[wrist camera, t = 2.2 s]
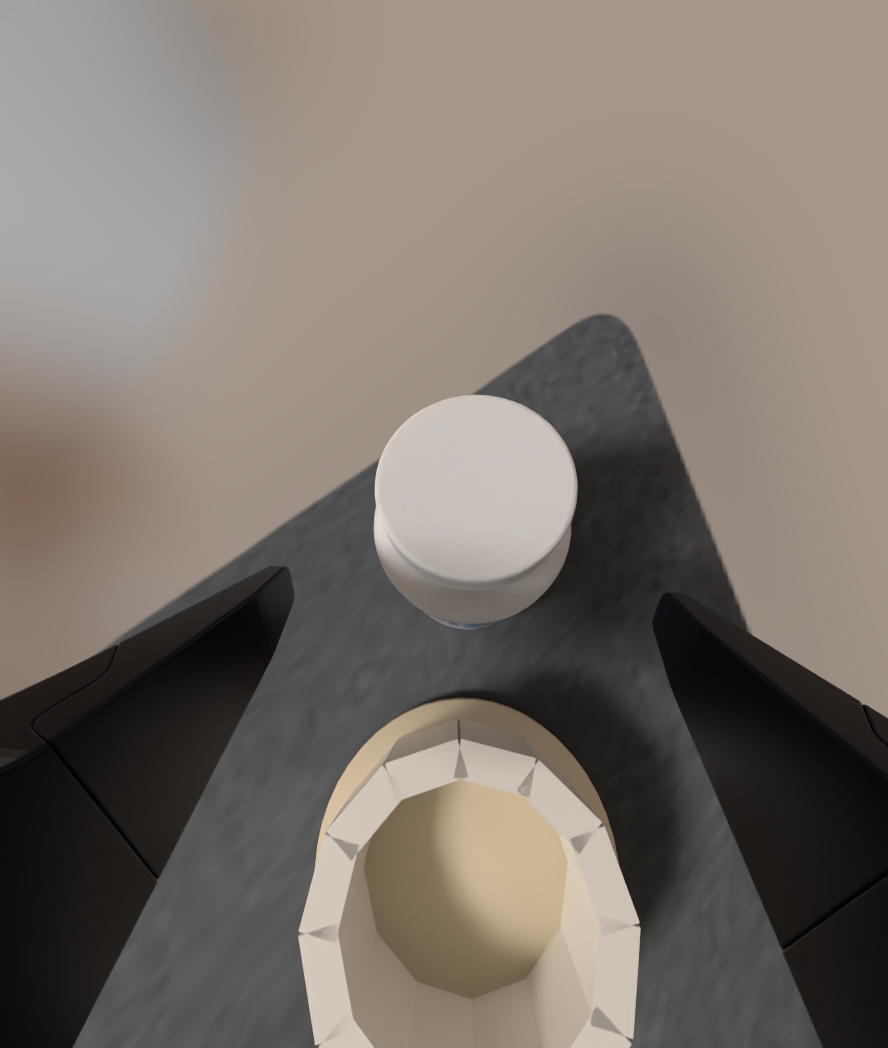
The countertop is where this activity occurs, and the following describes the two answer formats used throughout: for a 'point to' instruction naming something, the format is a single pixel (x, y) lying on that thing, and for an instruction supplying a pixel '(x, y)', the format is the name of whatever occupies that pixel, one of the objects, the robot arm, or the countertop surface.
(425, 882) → the socket dock
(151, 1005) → the countertop surface
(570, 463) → the pill bottle
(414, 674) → the countertop surface
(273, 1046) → the countertop surface
